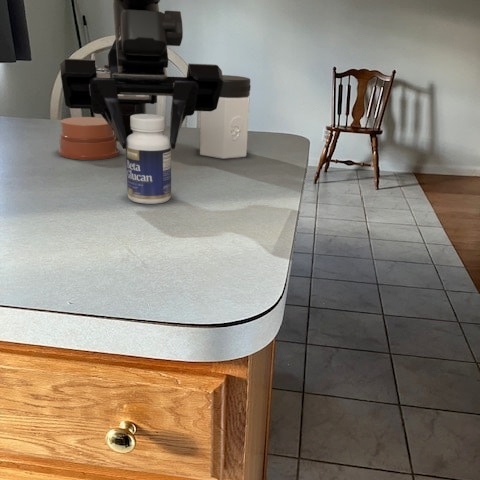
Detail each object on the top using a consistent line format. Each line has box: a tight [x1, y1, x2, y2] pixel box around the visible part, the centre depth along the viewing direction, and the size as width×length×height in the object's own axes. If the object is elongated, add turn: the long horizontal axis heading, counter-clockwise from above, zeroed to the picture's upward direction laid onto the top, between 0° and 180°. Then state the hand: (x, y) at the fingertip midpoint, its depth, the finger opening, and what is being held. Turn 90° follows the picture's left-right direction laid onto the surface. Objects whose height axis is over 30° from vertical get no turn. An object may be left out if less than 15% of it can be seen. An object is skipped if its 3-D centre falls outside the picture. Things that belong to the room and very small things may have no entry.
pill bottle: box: [125, 113, 172, 205], centre depth 65 cm, size 5×5×10 cm
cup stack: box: [58, 116, 120, 161], centre depth 87 cm, size 9×9×5 cm
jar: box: [199, 74, 251, 160], centre depth 90 cm, size 9×8×12 cm
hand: (149, 146), depth 63 cm, fingers closed on pill bottle, 5 cm apart
